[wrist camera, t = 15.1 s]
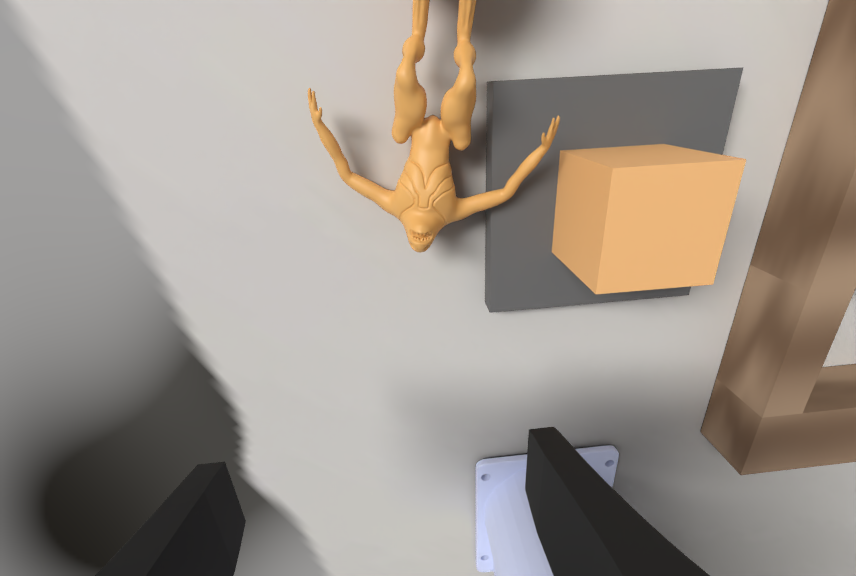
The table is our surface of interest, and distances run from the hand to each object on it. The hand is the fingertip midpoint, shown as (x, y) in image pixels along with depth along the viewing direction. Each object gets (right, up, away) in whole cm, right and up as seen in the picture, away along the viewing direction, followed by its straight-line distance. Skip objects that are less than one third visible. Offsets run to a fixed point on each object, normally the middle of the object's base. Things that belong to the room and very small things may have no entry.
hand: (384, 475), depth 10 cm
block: (+8, +8, +6) cm, 13 cm away
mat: (+8, +8, +7) cm, 14 cm away
